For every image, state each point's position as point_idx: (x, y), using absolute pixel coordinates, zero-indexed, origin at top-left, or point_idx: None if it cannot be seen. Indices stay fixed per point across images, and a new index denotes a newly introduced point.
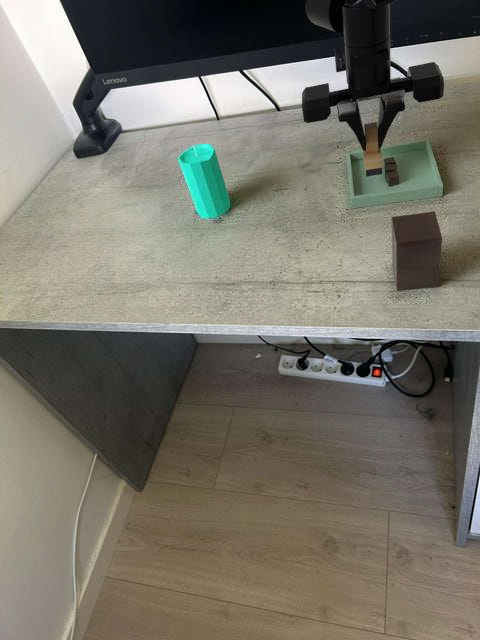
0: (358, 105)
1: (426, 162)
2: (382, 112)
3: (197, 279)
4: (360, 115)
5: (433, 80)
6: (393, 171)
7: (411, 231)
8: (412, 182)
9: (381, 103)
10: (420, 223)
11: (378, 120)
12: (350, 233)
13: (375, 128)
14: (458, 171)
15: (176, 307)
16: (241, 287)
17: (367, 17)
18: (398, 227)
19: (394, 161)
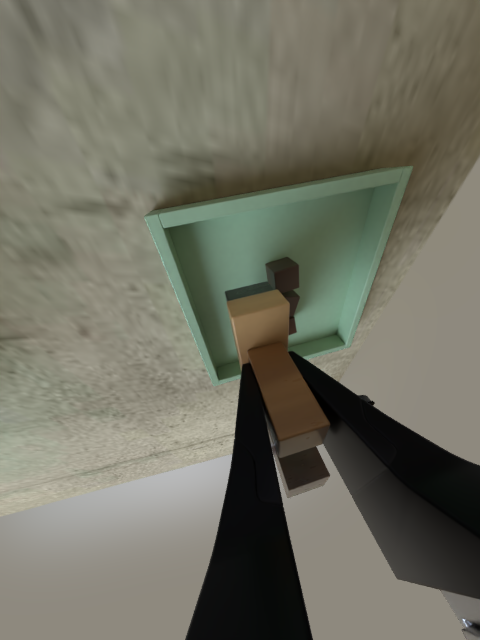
0: (302, 598)
1: (353, 249)
2: (389, 547)
3: (50, 478)
4: (281, 498)
5: None
6: (289, 321)
7: (302, 490)
8: (309, 314)
9: (438, 574)
10: (312, 485)
11: (342, 422)
12: (218, 400)
13: (314, 445)
14: (385, 275)
15: (62, 492)
16: (120, 465)
17: None
18: (292, 492)
19: (297, 285)
